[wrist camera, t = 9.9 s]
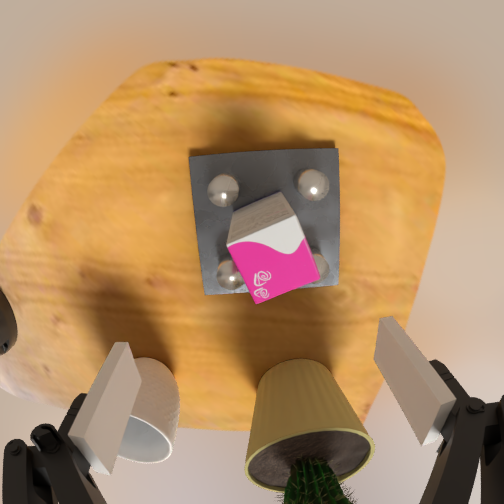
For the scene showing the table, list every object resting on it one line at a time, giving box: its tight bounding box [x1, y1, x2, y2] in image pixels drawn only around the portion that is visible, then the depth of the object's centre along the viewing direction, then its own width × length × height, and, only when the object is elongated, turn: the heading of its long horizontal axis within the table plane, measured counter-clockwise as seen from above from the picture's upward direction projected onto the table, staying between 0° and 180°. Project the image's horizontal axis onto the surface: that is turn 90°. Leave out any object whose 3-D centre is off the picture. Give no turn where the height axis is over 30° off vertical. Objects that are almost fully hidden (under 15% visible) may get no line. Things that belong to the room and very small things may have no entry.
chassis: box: [189, 148, 340, 295], centre depth 33 cm, size 16×16×4 cm
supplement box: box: [226, 191, 320, 304], centre depth 29 cm, size 6×6×12 cm
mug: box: [117, 357, 180, 463], centre depth 36 cm, size 15×11×13 cm
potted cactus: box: [245, 359, 375, 504], centre depth 29 cm, size 15×15×30 cm
